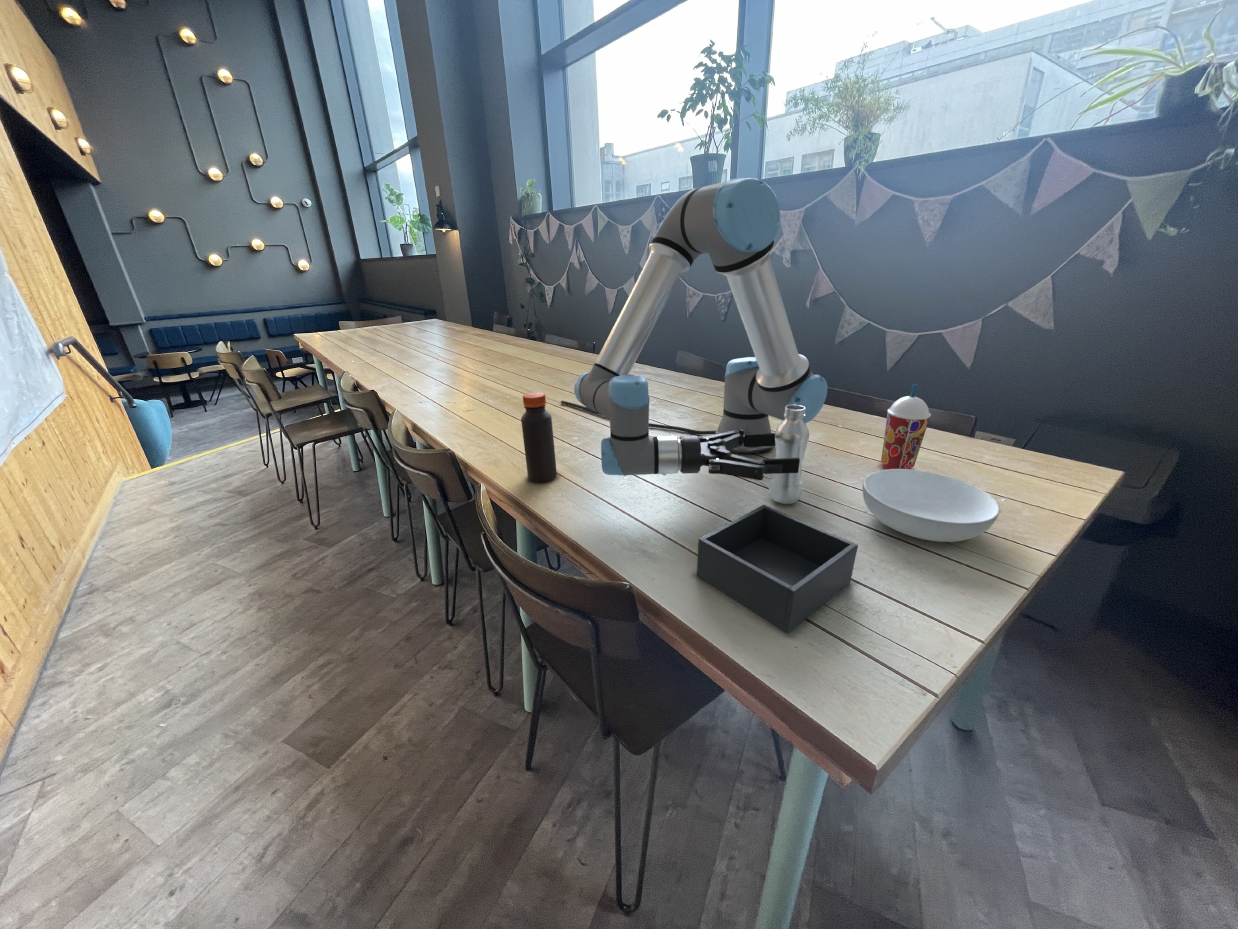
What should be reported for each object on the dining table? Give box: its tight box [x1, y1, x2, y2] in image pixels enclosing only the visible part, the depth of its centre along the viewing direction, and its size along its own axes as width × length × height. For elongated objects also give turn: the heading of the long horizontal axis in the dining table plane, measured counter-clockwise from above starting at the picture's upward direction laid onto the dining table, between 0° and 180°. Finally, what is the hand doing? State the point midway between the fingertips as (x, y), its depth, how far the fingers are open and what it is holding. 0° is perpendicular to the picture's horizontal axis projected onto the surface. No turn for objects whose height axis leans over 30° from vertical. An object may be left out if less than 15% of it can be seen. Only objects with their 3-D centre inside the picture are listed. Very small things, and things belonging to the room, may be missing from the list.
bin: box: [696, 504, 859, 634], centre depth 72 cm, size 17×17×7 cm
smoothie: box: [880, 383, 932, 470], centre depth 106 cm, size 8×8×20 cm
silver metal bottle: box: [768, 405, 810, 505], centre depth 93 cm, size 6×7×20 cm
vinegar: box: [520, 391, 558, 484], centre depth 107 cm, size 7×7×20 cm
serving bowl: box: [862, 468, 1001, 543], centre depth 85 cm, size 21×21×7 cm
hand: (786, 451), depth 93 cm, fingers open, 13 cm apart
